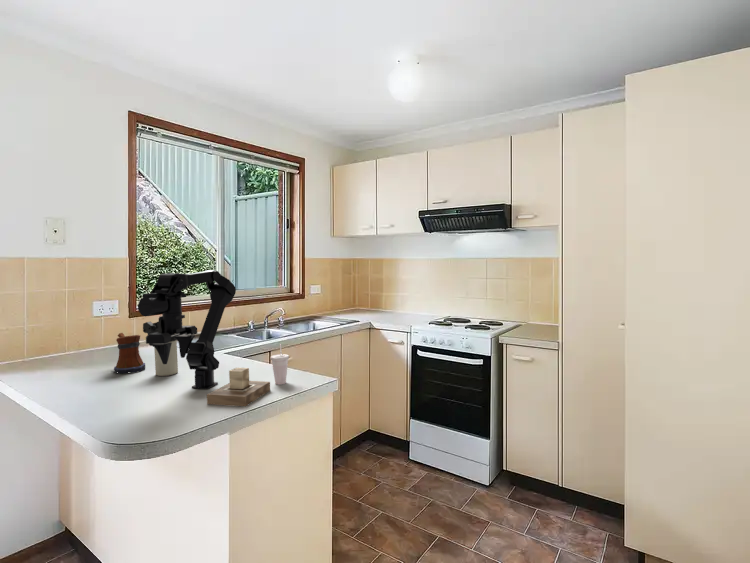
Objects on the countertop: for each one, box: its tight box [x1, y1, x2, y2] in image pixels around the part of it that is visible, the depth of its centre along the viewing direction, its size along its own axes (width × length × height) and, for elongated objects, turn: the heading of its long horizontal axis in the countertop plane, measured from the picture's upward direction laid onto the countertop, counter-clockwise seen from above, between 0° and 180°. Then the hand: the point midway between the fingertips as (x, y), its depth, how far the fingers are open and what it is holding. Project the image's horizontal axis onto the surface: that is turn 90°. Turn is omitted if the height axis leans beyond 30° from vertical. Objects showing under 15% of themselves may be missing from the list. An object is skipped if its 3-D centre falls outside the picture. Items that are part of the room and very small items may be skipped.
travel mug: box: [154, 337, 179, 377], centre depth 170 cm, size 8×8×18 cm
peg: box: [228, 367, 250, 390], centre depth 139 cm, size 4×4×9 cm
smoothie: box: [270, 343, 290, 385], centre depth 154 cm, size 6×6×14 cm
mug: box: [113, 332, 146, 374], centre depth 179 cm, size 18×12×15 cm, turn 43°
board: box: [206, 380, 271, 407], centre depth 139 cm, size 16×13×3 cm
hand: (174, 360), depth 139 cm, fingers open, 9 cm apart
